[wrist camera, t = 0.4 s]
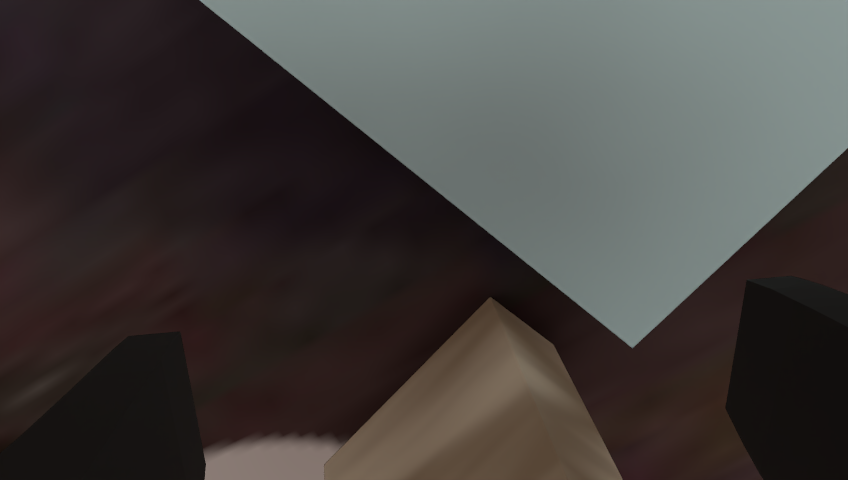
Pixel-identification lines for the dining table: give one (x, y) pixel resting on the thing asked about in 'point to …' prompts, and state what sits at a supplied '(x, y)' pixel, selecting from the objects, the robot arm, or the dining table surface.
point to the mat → (586, 122)
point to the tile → (481, 414)
